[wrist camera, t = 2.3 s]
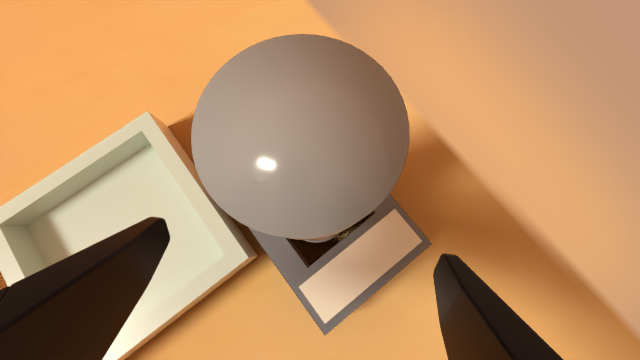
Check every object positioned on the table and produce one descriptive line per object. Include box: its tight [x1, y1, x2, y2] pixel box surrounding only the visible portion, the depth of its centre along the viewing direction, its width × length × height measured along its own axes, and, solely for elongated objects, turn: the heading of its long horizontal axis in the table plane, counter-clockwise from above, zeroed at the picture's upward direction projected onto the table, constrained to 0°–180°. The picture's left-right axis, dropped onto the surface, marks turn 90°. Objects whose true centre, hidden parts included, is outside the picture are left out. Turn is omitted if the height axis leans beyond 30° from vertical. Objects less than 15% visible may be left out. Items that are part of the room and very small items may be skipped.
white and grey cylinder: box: [191, 34, 409, 243], centre depth 12 cm, size 4×4×14 cm
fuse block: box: [248, 194, 432, 335], centre depth 18 cm, size 12×8×3 cm, turn 38°
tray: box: [0, 111, 258, 360], centre depth 18 cm, size 12×12×2 cm
